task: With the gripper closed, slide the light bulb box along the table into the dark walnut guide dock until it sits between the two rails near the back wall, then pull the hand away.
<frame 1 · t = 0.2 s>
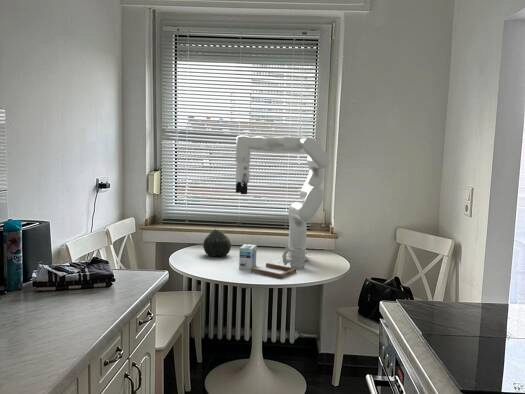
hand: (241, 193, 233), 36 cm above the table, tool pointing down, fingers open, 9 cm apart
mug: (293, 268, 230), on the table
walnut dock: (272, 272, 219), on the table
light bulb box: (247, 267, 228), on the table
squash: (216, 255, 251), on the table
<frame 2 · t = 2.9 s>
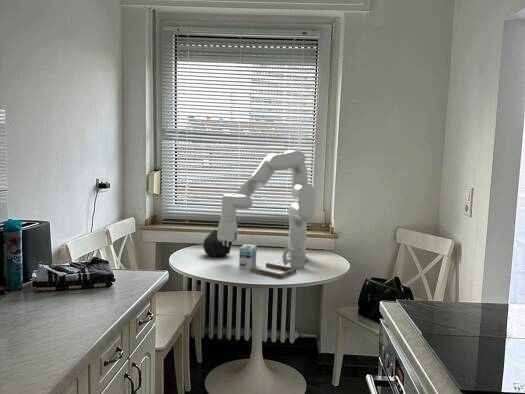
hand: (226, 253, 234), 5 cm above the table, tool pointing down, fingers closed
nothing on the table moved.
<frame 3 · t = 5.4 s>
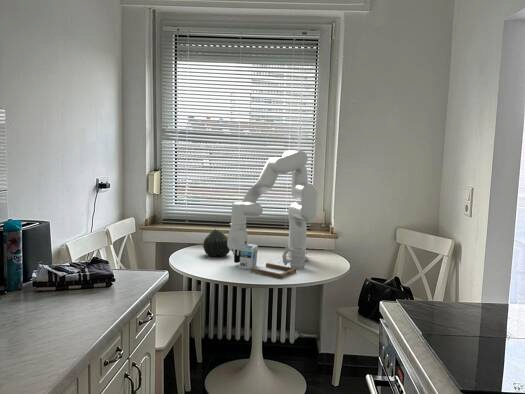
hand: (237, 262, 231), 1 cm above the table, tool pointing down, fingers closed
light bulb box: (247, 267, 227), on the table, touching gripper
everything else where it was.
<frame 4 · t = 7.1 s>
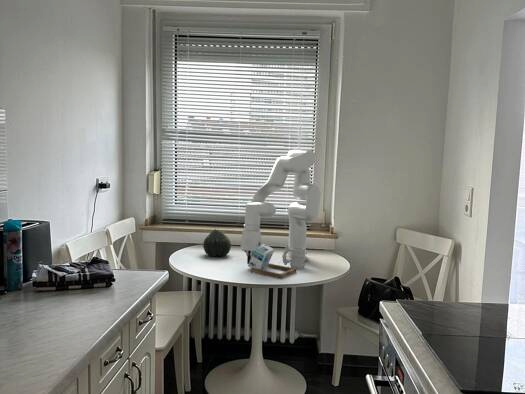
hand: (250, 263, 226), 2 cm above the table, tool pointing down, fingers closed
light bulb box: (256, 267, 223), point 1 cm above the table, touching gripper, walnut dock
everything else where it was.
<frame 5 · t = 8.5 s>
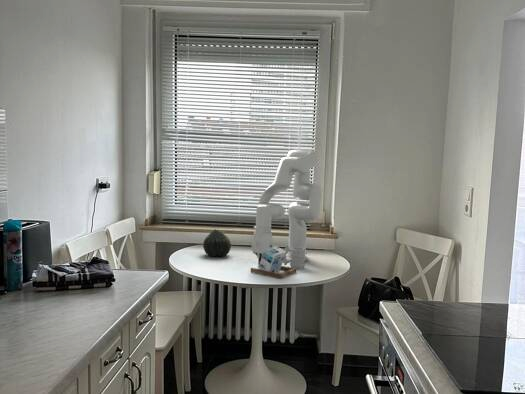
hand: (261, 266, 222), 2 cm above the table, tool pointing down, fingers closed
light bulb box: (268, 269, 220), point 1 cm above the table, touching gripper, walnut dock
everything else where it was.
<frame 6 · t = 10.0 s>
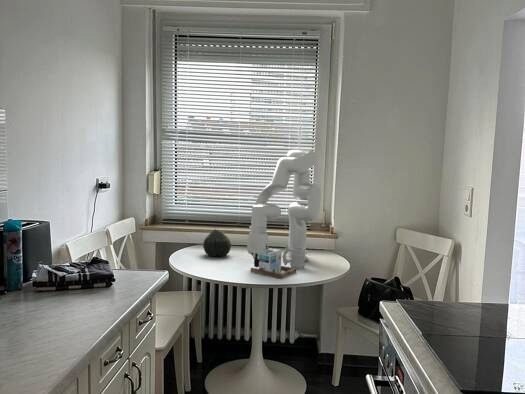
hand: (257, 266, 224), 1 cm above the table, tool pointing down, fingers closed
light bulb box: (269, 272, 219), on the table
everything else where it was.
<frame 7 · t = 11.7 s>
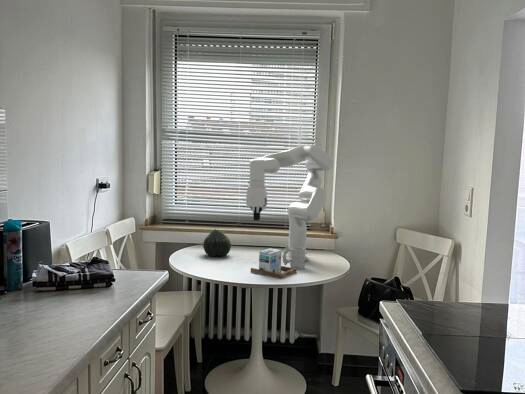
hand: (256, 220, 226), 24 cm above the table, tool pointing down, fingers closed
nothing on the table moved.
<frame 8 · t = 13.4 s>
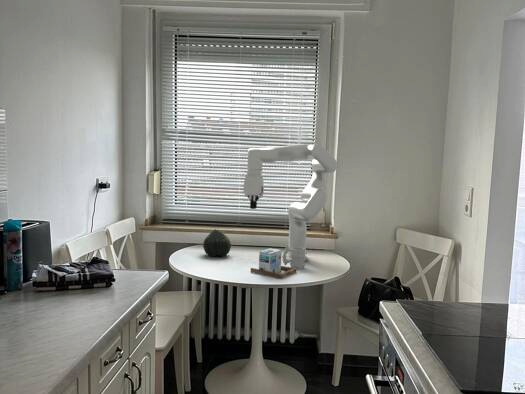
hand: (253, 208, 231), 29 cm above the table, tool pointing down, fingers closed
nothing on the table moved.
at the end: light bulb box inside the target area on the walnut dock (1.5 cm from its centre), point 0.0 cm above the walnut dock's base; light bulb box tilted 0°; light bulb box moved 13.9 cm from its start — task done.
